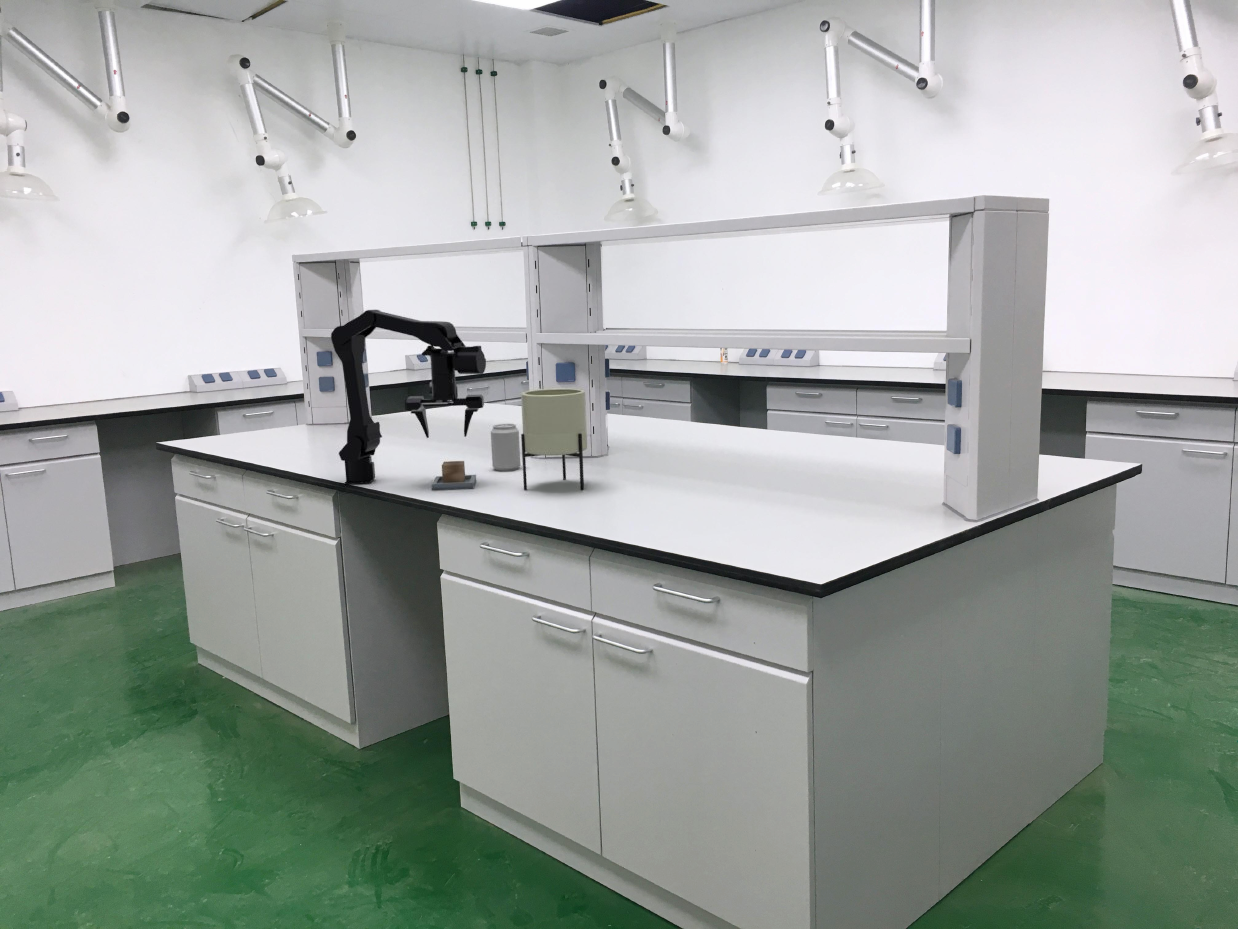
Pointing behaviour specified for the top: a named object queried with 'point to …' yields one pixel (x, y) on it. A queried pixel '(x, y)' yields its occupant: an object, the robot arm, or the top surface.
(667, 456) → the top surface
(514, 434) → the can
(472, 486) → the tray
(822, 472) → the top surface
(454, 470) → the cube
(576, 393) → the planter
